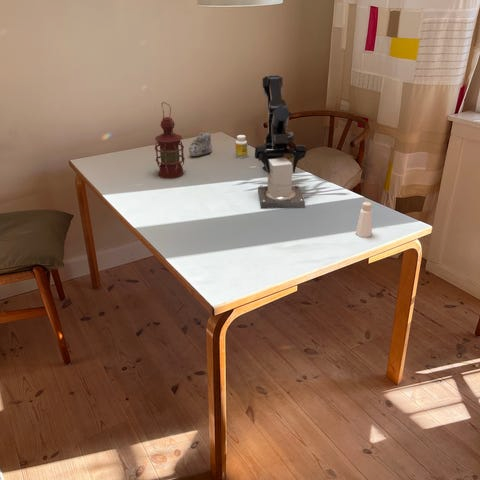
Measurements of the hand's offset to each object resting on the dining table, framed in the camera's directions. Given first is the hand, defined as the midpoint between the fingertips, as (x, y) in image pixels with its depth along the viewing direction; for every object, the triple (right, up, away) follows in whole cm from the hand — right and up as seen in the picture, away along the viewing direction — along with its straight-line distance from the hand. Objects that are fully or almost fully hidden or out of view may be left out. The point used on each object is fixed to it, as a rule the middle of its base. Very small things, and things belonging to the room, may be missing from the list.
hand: (281, 172), depth 191 cm
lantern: (-44, +3, +30) cm, 54 cm away
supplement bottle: (-14, +14, +50) cm, 54 cm away
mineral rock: (-34, +16, +54) cm, 66 cm away
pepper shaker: (+25, -23, -20) cm, 39 cm away
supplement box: (0, -7, +5) cm, 9 cm away
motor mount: (0, -9, +6) cm, 11 cm away
